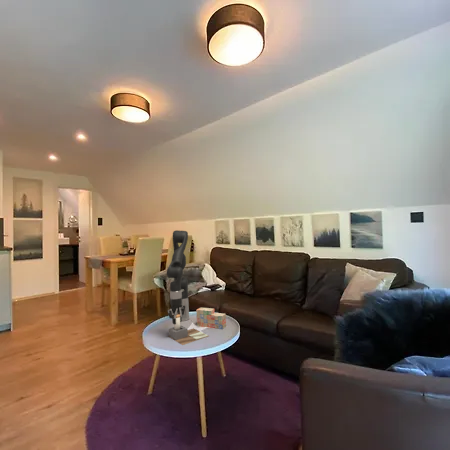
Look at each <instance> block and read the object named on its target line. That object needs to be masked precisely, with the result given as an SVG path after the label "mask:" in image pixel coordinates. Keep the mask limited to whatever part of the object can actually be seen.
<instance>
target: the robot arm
mask: <svg viewBox="0 0 450 450" xmlns="http://www.w3.org/2000/svg"><path fill="white" fill-rule="evenodd" d="M188 241H189V234H188V231H186V230H173V231H172V247H173V253H172V257H171V262H170V264H169V266H168V267H167V269H166V276H167V277H168V278H169V279H173V281H171V282H170V283H169V285H170V286H169V291H170V293H169V296H170V299H169V301H170V303H169V304H170V309H167V311H166V312H167V314H168V317H169V319H172V324H173V325H174V324H176V319H175V318H176V315H177V313H178V314H180V323H182V322H184V321H188V320H190V309H189V306H190V303H189V280H188V277H183V275H184V269H185V268H186V265H187V257H186V255H185V250H186V246H187V244H188ZM179 244H180V246H179Z"/></svg>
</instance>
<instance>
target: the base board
mask: <svg viewBox="0 0 450 450" xmlns="http://www.w3.org/2000/svg"><path fill="white" fill-rule="evenodd" d="M187 330H188V336H187V337H184V338H181V339H178V340H174V339H173V338H171V337H169V335H168V336H167V337H168V338H170V339H172V340H174V341H175V342H176V343H178V344H180V345H182V346H185V345H187V344H191V343H193V342H194V343H195V342H196V341H200V340H202V339H205V338H208V337H210V335H208V334H206V333H204V332H202V331H200V330H197V329H196V328H194V327H193V328H191V329H187Z"/></svg>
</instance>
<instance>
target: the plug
mask: <svg viewBox="0 0 450 450" xmlns="http://www.w3.org/2000/svg"><path fill="white" fill-rule="evenodd" d="M175 319H176V324H173V326H174V330H176V331H177V330H181V328H180V325H181V322H180V314H178V313H177V315H176V318H175Z"/></svg>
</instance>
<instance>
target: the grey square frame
mask: <svg viewBox="0 0 450 450" xmlns="http://www.w3.org/2000/svg"><path fill="white" fill-rule="evenodd" d="M180 328H181V330H177V331H176V330H174V327H170V328H168V336H169V337H168V338H170V337H171V338H170V339H172V338H173V339H174V341H175V340H178V339H181V338H184V337H187V336H188V330H189V329H188V327H185V326H184V325H181V324H180ZM173 339H172V340H173Z"/></svg>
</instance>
